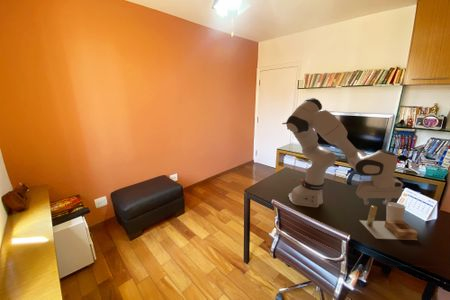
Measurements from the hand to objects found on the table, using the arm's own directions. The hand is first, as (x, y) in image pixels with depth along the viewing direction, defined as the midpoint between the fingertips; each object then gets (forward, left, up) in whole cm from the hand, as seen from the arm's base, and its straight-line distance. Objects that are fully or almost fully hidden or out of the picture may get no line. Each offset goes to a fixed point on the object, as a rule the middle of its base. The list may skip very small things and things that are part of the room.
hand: (375, 204), depth 101 cm
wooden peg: (0, 0, -14) cm, 14 cm away
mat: (+7, -3, -14) cm, 16 cm away
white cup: (+16, +4, -14) cm, 22 cm away
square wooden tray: (+12, -5, -14) cm, 19 cm away
